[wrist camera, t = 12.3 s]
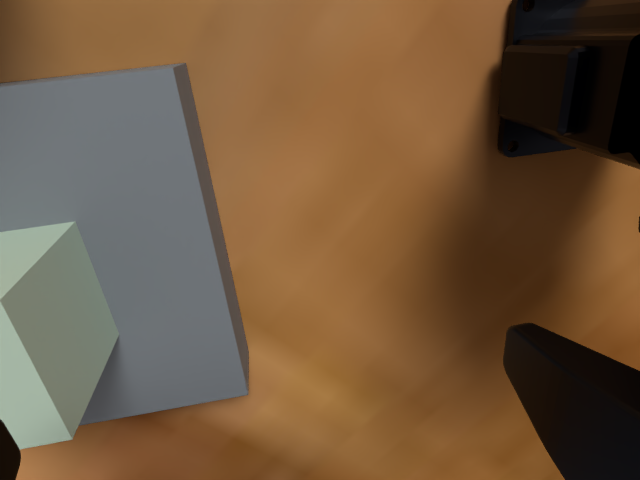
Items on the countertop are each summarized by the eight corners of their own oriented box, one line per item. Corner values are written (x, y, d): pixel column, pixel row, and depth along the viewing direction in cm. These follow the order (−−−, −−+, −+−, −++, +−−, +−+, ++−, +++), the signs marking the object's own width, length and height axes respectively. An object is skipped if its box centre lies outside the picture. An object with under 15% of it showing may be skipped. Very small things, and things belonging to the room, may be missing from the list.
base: (185, 62, 16) (172, 67, 13) (248, 351, 22) (248, 394, 19) (-224, 107, 15) (-330, 123, 12) (-36, 400, 21) (-78, 454, 18)
